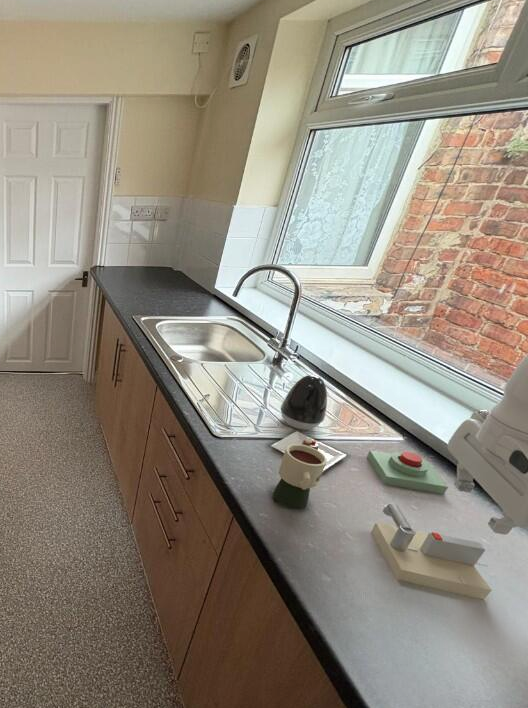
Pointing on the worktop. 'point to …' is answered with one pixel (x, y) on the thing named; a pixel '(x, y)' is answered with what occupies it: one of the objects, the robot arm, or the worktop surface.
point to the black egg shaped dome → (305, 403)
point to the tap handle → (452, 549)
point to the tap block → (429, 566)
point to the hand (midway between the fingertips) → (477, 508)
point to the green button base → (406, 473)
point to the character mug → (298, 475)
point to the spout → (399, 528)
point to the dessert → (302, 439)
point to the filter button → (410, 459)
